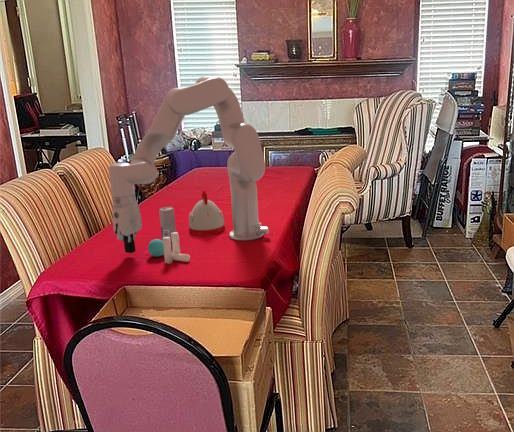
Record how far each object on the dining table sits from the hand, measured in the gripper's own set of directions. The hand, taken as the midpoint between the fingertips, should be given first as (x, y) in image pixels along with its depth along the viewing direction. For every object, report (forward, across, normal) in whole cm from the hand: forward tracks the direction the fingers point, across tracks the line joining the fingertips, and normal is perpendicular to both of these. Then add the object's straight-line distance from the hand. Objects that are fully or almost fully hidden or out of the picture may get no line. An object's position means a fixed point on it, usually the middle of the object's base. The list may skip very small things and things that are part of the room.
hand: (130, 251), depth 191 cm
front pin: (+1, +2, -13) cm, 14 cm away
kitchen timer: (+2, +36, -10) cm, 37 cm away
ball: (-1, +3, -9) cm, 9 cm away
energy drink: (+2, +20, -3) cm, 20 cm away
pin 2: (+2, +4, -16) cm, 17 cm away
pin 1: (+2, -1, -16) cm, 16 cm away
